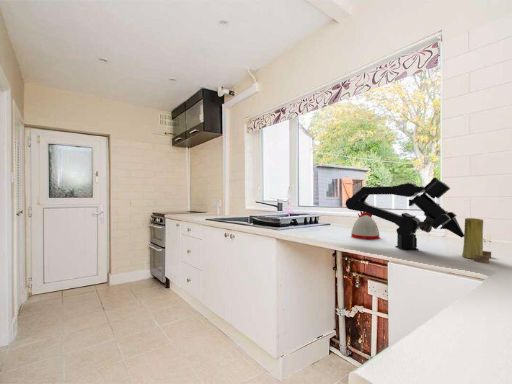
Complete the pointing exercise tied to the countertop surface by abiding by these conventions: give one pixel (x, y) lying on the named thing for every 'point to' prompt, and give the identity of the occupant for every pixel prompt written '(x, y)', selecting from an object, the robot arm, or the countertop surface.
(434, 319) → the countertop surface
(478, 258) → the wooden blocks
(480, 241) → the vase
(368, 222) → the grey red beanie hat
